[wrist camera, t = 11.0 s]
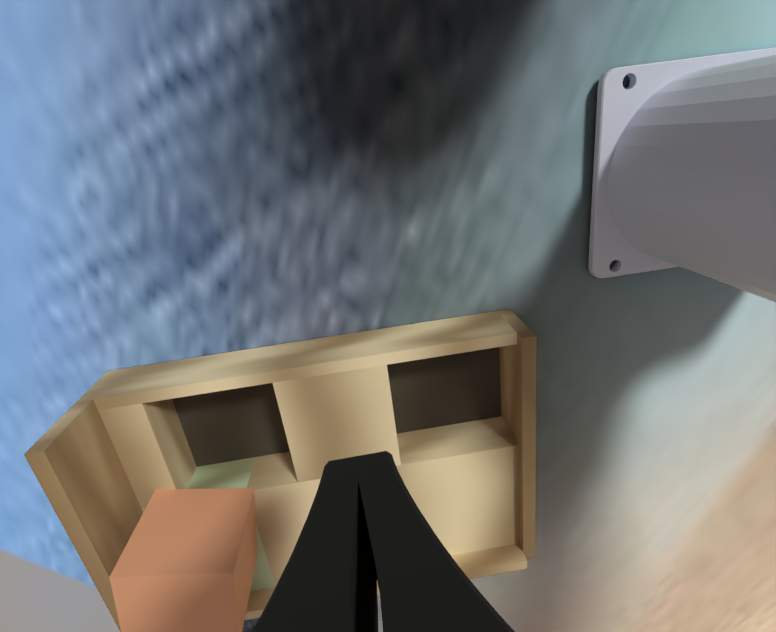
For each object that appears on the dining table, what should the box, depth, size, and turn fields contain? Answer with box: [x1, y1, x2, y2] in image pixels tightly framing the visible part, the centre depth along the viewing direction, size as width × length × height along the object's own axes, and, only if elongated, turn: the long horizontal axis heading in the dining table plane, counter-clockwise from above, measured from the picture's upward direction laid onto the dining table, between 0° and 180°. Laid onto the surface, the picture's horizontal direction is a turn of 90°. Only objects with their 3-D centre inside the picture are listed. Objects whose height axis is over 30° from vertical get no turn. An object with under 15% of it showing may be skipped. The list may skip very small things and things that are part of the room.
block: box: [109, 488, 257, 632], centre depth 18 cm, size 4×4×4 cm
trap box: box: [24, 309, 537, 631], centre depth 19 cm, size 18×12×5 cm
